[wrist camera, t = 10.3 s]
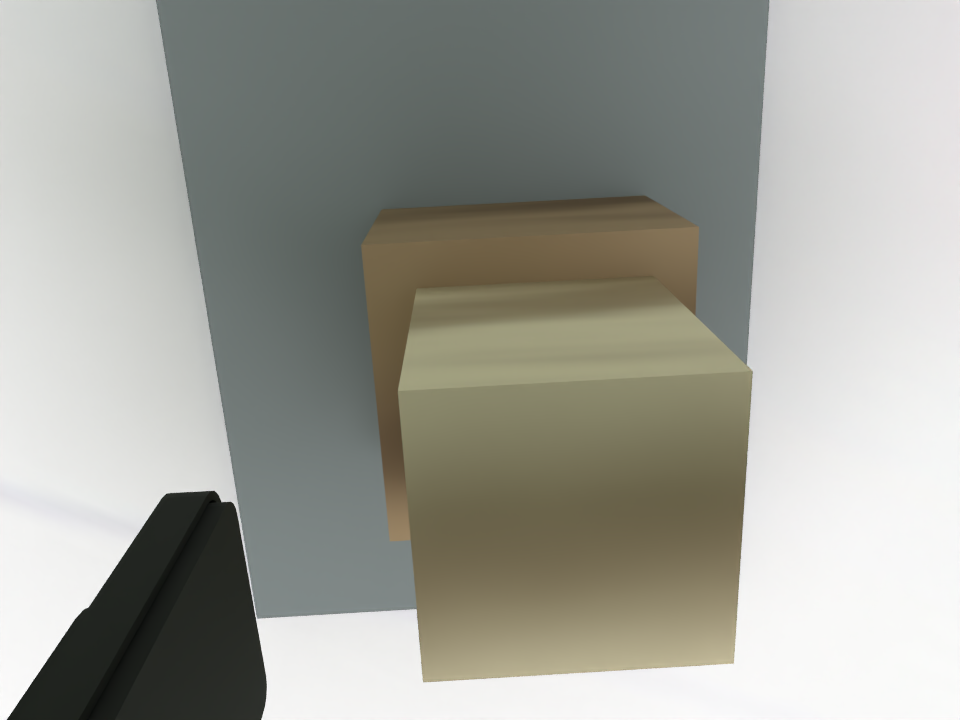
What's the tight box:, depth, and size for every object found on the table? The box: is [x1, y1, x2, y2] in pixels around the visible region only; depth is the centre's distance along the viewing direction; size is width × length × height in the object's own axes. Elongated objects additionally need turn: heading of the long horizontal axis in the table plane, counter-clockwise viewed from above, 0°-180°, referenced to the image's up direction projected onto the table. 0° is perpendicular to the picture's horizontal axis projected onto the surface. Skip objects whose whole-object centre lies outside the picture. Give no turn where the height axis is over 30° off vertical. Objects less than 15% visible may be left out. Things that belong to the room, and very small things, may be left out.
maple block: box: [398, 276, 753, 682], centre depth 15 cm, size 5×5×6 cm
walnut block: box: [361, 195, 699, 541], centre depth 20 cm, size 7×7×5 cm
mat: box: [156, 0, 769, 618], centre depth 22 cm, size 22×15×1 cm
